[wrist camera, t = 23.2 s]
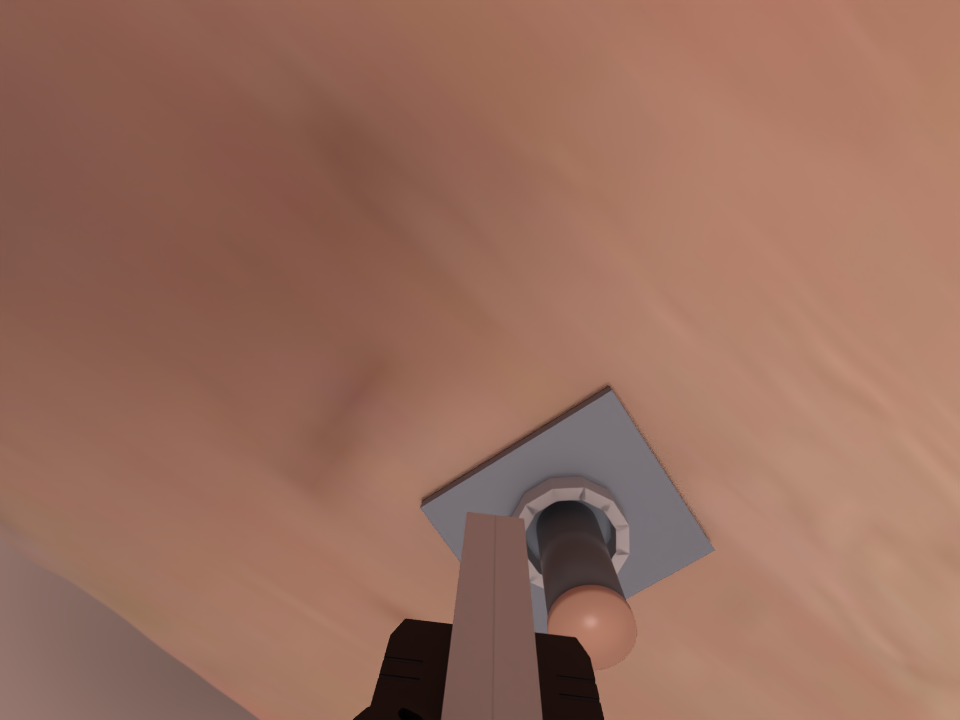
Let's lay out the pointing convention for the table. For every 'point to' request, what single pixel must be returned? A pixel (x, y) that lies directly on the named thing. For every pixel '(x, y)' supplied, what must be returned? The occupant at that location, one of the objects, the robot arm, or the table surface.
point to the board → (599, 461)
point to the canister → (583, 584)
